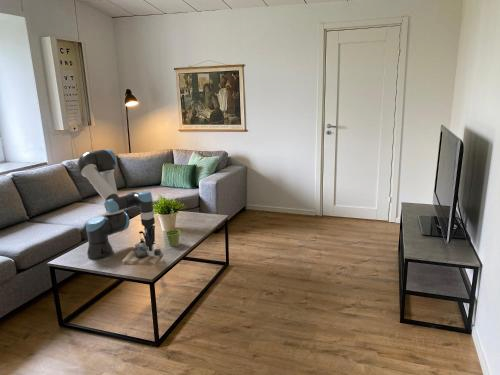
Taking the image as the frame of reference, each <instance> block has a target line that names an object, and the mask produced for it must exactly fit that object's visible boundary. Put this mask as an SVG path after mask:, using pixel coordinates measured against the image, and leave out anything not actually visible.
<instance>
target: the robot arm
mask: <svg viewBox="0 0 500 375" xmlns="http://www.w3.org/2000/svg"><path fill="white" fill-rule="evenodd" d="M117 158H118V157H117V155H116V154H115V152H113V150H112V149H109V148H107V149H99V150H93V151H86V152H84V153H83V154H81V156H80V157H79V158H78V161H77V168H78V171H79V174H80V175H81V176H83V178H84V177H85V178H86V179H87V181H89V183H90V184H91V186H92V187H93V188H94V189H95V191H96V192H97V193H98V195H100V197H101V198H102V199H103V200H104V204H103V206H104V208H105V211H106V212H105V213H104V215H105V216H101V215H99V216H95V217H92V218H90V219H88V220H87V221H86V223H85V228H86V229H85V230H86V234H87V235H86V236H87V242H88V248H87V252H86V253H87V254H86V256H87V258H89V259H93V260H99V259H104V258H107V257H109V256H111V255H112V254H113V252H114V249H113V247H112V244H111V243H110V240H109V236H111V235H114V234H117V233H121V232H124V231H126V230H127V229H129V227H130V217H129V215H128V213H127V212H126V211H125V209H129V208H130V209H131V208H133V207H139V213H140V214H139V215H140V222H141V226H143V227H144V229H143V230H144V231H143V233H142V236H143V239H144V241H145V243H146V246H148V249H149V256H154V255H155V254H154V249H155V246H154V245H155V244H156V240H155V239H156V237H155V235H156V232H155V231H156V225H155V223H156V221H155V219H156V218H155V212H154V203H153V195H152V192H151V191H149V190H144V191H140V192H135V191H129V192H128V193H127V194H126V195H122V196H119V194H118V193H119V192H118V189H117V184H116V179H115V175H114V172H115V170H116V167H117V165H118V159H117Z"/></svg>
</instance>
